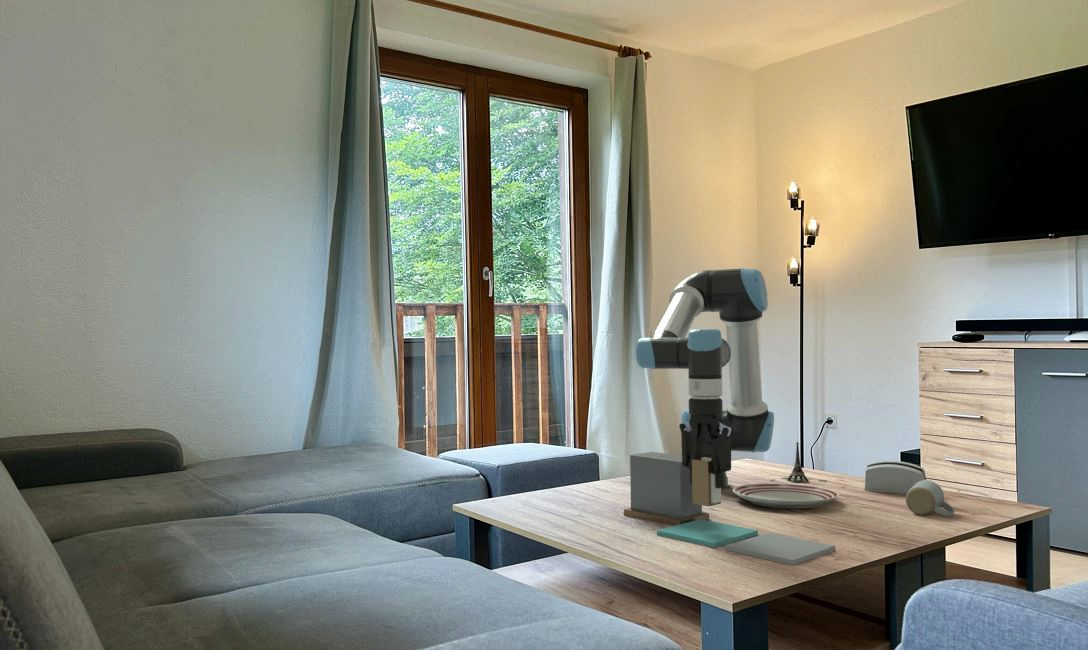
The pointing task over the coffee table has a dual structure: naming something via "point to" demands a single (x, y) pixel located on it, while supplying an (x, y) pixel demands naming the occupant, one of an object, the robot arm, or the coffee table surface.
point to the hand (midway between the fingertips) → (706, 500)
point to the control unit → (662, 490)
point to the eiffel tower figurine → (798, 471)
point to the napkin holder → (892, 476)
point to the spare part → (702, 481)
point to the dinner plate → (785, 495)
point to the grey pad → (780, 548)
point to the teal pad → (707, 533)
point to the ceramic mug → (928, 499)
